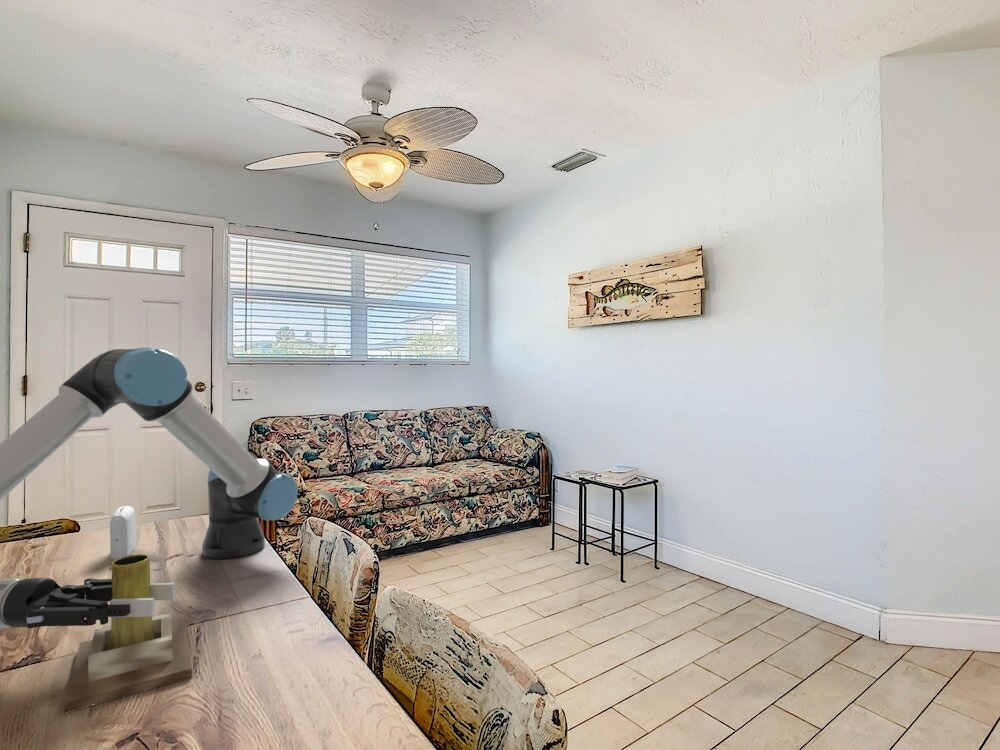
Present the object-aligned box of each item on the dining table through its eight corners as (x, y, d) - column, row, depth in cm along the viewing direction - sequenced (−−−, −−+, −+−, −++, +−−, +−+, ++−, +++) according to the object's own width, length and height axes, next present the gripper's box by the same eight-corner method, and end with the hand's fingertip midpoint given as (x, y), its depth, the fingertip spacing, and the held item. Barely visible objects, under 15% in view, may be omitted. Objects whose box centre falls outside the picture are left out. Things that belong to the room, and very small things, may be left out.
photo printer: (128, 559, 139) (127, 511, 138) (108, 561, 137) (107, 513, 137) (138, 546, 148) (137, 501, 148) (119, 548, 147) (118, 503, 146)
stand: (185, 626, 103) (185, 600, 103) (191, 677, 86) (191, 646, 86) (80, 651, 94) (79, 623, 94) (64, 713, 77) (63, 679, 77)
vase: (162, 638, 92) (161, 555, 92) (127, 656, 86) (125, 568, 86) (136, 632, 94) (135, 551, 94) (100, 650, 88) (98, 563, 88)
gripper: (62, 600, 98) (193, 597, 99) (-32, 655, 80) (129, 650, 81) (61, 559, 98) (192, 556, 99) (-34, 605, 80) (128, 600, 81)
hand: (163, 598), depth 90 cm, fingers closed on vase, 5 cm apart
